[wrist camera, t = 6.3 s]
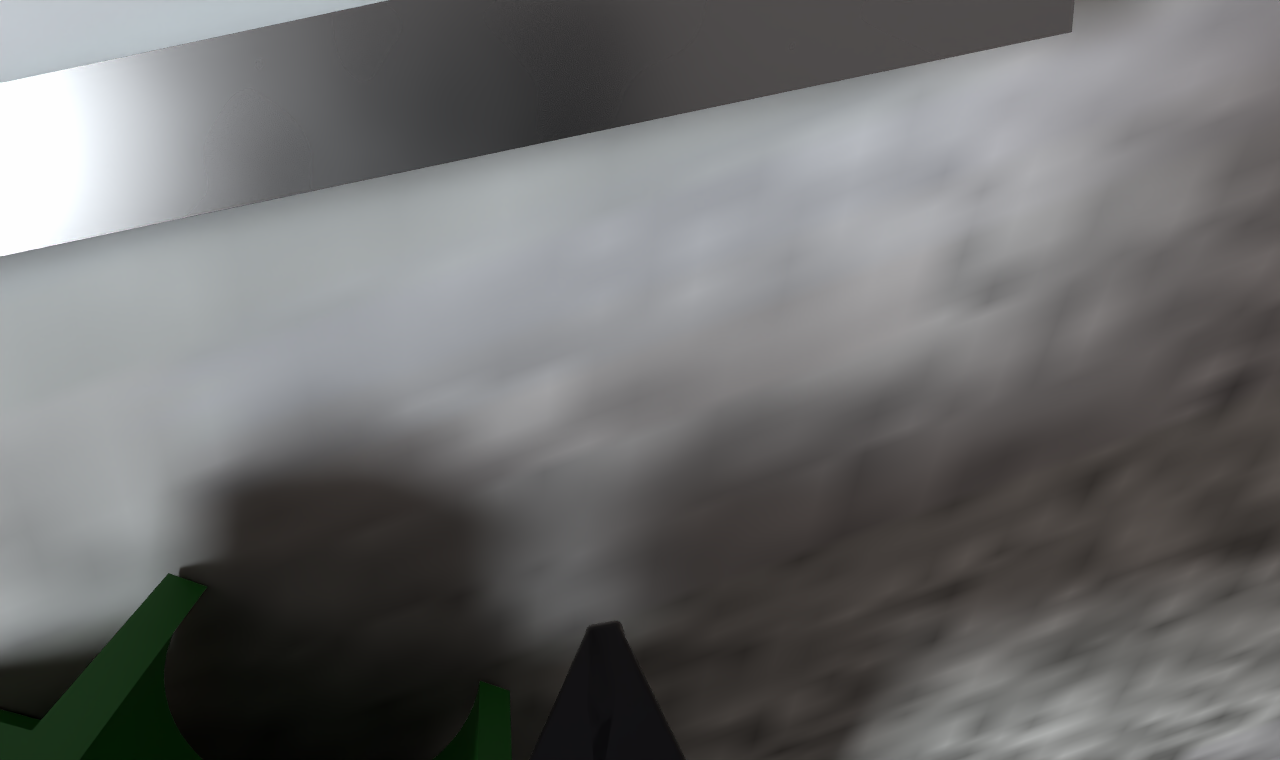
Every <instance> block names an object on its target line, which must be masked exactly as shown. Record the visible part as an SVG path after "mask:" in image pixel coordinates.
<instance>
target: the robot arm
mask: <svg viewBox="0 0 1280 760" xmlns="http://www.w3.org/2000/svg"><path fill="white" fill-rule="evenodd" d="M529 760H686V759H685V757H684V755H683V753H682V751H681V749H680V747H679V745H678V743H677V741H676V739H675V737H674V735H673V733H672V731H671V729H670V727H669V725H668V723H667V721H666V719H665V717H664V715H663V713H662V711H661V709H660V707H659V705H658V703H657V701H656V699H655V697H654V695H653V693H652V690H651V688H650V686H649V684H648V682H647V680H646V678H645V676H644V674H643V672H642V670H641V668H640V666H639V664H638V662H637V660H636V658H635V656H634V654H633V652H632V650H631V648H630V646H629V644H628V642H627V640H626V638H625V634H624V630H623V627H622V624H621V623H620V622H619V621H610V622H604V623H598V624H592V625H589V626H588V627H587V629H586V633H585V636H584V638H583V640H582V642H581V645H580V647H579V649H578V651H577V653H576V656H575V658H574V660H573V662H572V665H571V667H570V669H569V671H568V674H567V676H566V678H565V680H564V683H563V685H562V687H561V689H560V691H559V694H558V696H557V698H556V700H555V703H554V705H553V707H552V709H551V712H550V714H549V716H548V718H547V720H546V723H545V725H544V727H543V729H542V732H541V734H540V736H539V738H538V741H537V743H536V745H535V747H534V750H533V752H532V754H531V756H530V758H529Z"/></svg>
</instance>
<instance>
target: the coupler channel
mask: <svg viewBox="0 0 1280 760" xmlns="http://www.w3.org/2000/svg"><path fill="white" fill-rule="evenodd" d="M1073 10H1074V0H388V1H384V2H379V3H374V4H370V5H365V6H360V7H356V8H351V9H346V10H341V11H337V12H332V13H327V14H323V15H318V16H313V17H309V18H304V19H299V20H295V21H290V22H285V23H281V24H276V25H271V26H266V27H262V28H257V29H252V30H248V31H243V32H238V33H234V34H229V35H224V36H220V37H215V38H210V39H206V40H201V41H196V42H191V43H187V44H182V45H177V46H173V47H168V48H163V49H159V50H154V51H149V52H145V53H140V54H135V55H131V56H126V57H121V58H116V59H112V60H107V61H102V62H98V63H93V64H88V65H84V66H79V67H74V68H70V69H65V70H60V71H55V72H51V73H46V74H41V75H37V76H32V77H27V78H23V79H18V80H13V81H9V82H4V83H0V256H5V255H9V254H14V253H19V252H24V251H28V250H33V249H38V248H43V247H47V246H52V245H57V244H62V243H67V242H71V241H76V240H81V239H86V238H90V237H95V236H100V235H105V234H109V233H114V232H119V231H124V230H129V229H133V228H138V227H143V226H148V225H152V224H157V223H162V222H167V221H172V220H176V219H181V218H186V217H191V216H195V215H200V214H205V213H210V212H214V211H219V210H224V209H229V208H234V207H238V206H243V205H248V204H253V203H257V202H262V201H267V200H272V199H277V198H281V197H286V196H291V195H296V194H300V193H305V192H310V191H315V190H319V189H324V188H329V187H334V186H339V185H343V184H348V183H353V182H358V181H362V180H367V179H372V178H377V177H382V176H386V175H391V174H396V173H401V172H405V171H410V170H415V169H420V168H424V167H429V166H434V165H439V164H444V163H448V162H453V161H458V160H463V159H467V158H472V157H477V156H482V155H486V154H491V153H496V152H501V151H506V150H510V149H515V148H520V147H525V146H529V145H534V144H539V143H544V142H549V141H553V140H558V139H563V138H568V137H572V136H577V135H582V134H587V133H591V132H596V131H601V130H606V129H611V128H615V127H620V126H625V125H630V124H634V123H639V122H644V121H649V120H654V119H658V118H663V117H668V116H673V115H677V114H682V113H687V112H692V111H696V110H701V109H706V108H711V107H716V106H720V105H725V104H730V103H735V102H739V101H744V100H749V99H754V98H758V97H763V96H768V95H773V94H778V93H782V92H787V91H792V90H797V89H801V88H806V87H811V86H816V85H821V84H825V83H830V82H835V81H840V80H844V79H849V78H854V77H859V76H863V75H868V74H873V73H878V72H883V71H887V70H892V69H897V68H902V67H906V66H911V65H916V64H921V63H926V62H930V61H935V60H940V59H945V58H949V57H954V56H959V55H964V54H968V53H973V52H978V51H983V50H988V49H992V48H997V47H1002V46H1007V45H1011V44H1016V43H1021V42H1026V41H1030V40H1035V39H1040V38H1045V37H1050V36H1054V35H1059V34H1064V33H1069V32H1072V22H1073Z"/></svg>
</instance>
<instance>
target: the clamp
mask: <svg viewBox="0 0 1280 760" xmlns="http://www.w3.org/2000/svg"><path fill="white" fill-rule="evenodd" d="M206 588H207V586H204V585H201V584H198V583H196V582H193V581H190V580H187V579H184V578H181V577H178V576H175V575H172V574H169V573H168V575H167V576H166V577H165V578H164V579H163V580H162V581H161V583H160V584H159V585H158V586H157V587H156V588H155V590H154V591H153V592H152V593H151V594H150V595H149V596H148V598H147V599H146V600H145V601H144V602H143V603H142V604H141V606H140V607H139V608H138V609H137V610H136V611H135V613H134V614H133V615H132V616H131V617H130V618H129V619H128V621H127V622H126V623H125V624H124V625H123V626H122V627H121V629H120V630H119V631H118V632H117V633H116V634H115V636H114V637H113V638H112V639H111V640H110V641H109V642H108V644H107V645H106V646H105V647H104V648H103V649H102V651H101V652H100V653H99V654H98V655H97V656H96V657H95V659H94V660H93V661H92V662H91V663H90V664H89V665H88V667H87V668H86V669H85V670H84V671H83V672H82V674H81V675H80V676H79V677H78V678H77V679H76V680H75V682H74V683H73V684H72V685H71V686H70V687H69V688H68V690H67V691H66V692H65V693H64V694H63V695H62V697H61V698H60V699H59V700H58V701H57V702H56V703H55V705H54V706H53V707H52V708H51V709H50V710H49V712H48V713H47V714H46V715H45V716H44V717H43V718H42V720H39V719H35V718H31V717H28V716H24V715H20V714H17V713H13V712H9V711H5V710H1V709H0V760H203V759H202V758H201V757H200V756H199V755H198V754H197V753H196V752H195V751H194V750H193V749H192V748H191V747H190V745H189V744H188V743H187V741H186V740H185V739H184V737H183V736H182V735H181V733H180V731H179V729H178V727H177V726H176V724H175V722H174V720H173V717H172V715H171V712H170V710H169V706H168V702H167V698H166V693H165V684H164V669H165V661H166V655H167V650H168V647H169V644H170V641H171V637H172V635H173V633H174V631H175V630H176V629H177V627H178V626H179V625H180V623H181V622H182V620H183V619H184V618H185V616H186V615H187V614H188V612H189V611H190V610H191V608H192V607H193V606H194V604H195V603H196V602H197V600H198V599H199V597H200V596H201V595H202V593H203V592H204V591H205V589H206ZM433 760H512V749H511V715H510V691H509V690H506V689H503V688H500V687H497V686H494V685H491V684H489V683H486V682H483V681H480V682H479V687H478V692H477V696H476V699H475V702H474V705H473V707H472V709H471V711H470V713H469V716H468V718H467V720H466V721H465V723H464V724H463V726H462V728H461V729H460V731H459V732H458V733H457V735H456V736H455V737H454V739H453V740H452V741H451V742H450V743H449V744H448V745H447V746H446V748H445V749H444V750H443V751H442V752H441V753H439V754H438V755H437V756H436V757H435V758H434V759H433Z"/></svg>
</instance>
